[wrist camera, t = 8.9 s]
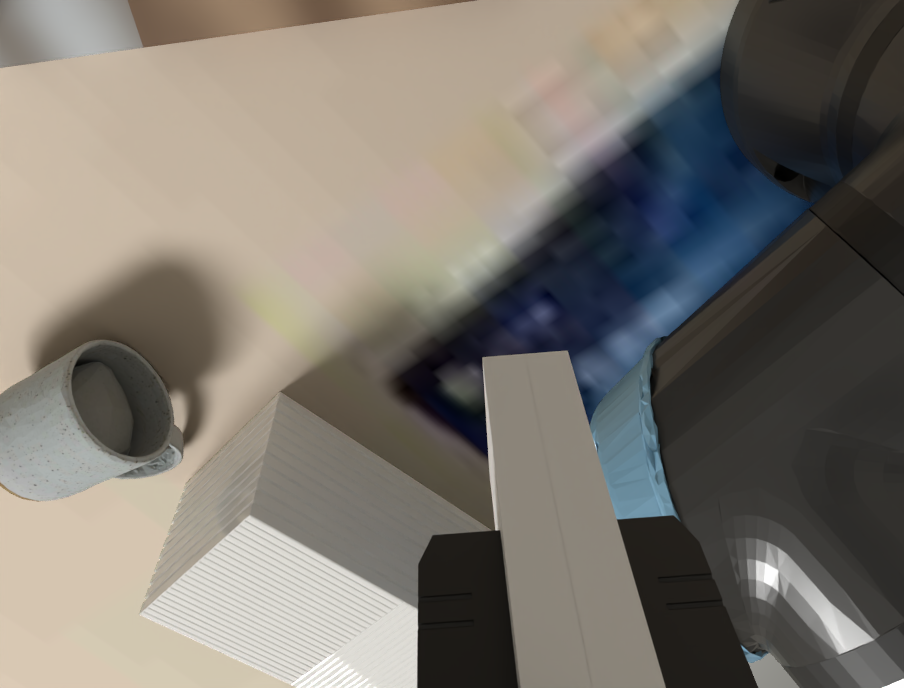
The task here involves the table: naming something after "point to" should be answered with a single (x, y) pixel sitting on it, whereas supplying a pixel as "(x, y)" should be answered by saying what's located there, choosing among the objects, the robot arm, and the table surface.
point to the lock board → (159, 22)
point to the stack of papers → (301, 555)
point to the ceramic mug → (86, 424)
